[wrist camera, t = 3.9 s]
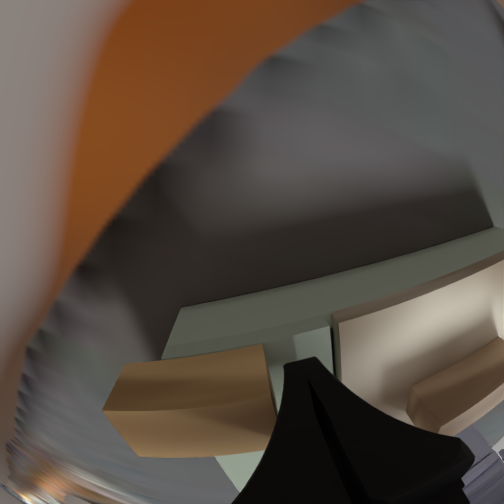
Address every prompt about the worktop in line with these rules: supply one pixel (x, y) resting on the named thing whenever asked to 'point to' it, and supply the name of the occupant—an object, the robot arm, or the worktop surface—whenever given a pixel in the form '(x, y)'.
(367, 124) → the worktop surface
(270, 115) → the worktop surface
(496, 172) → the worktop surface
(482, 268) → the lid
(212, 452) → the block
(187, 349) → the flat box
